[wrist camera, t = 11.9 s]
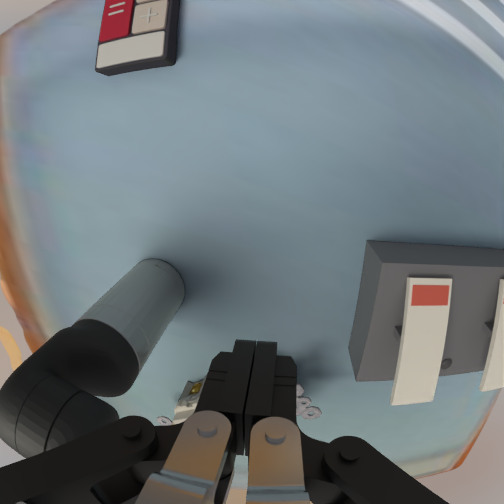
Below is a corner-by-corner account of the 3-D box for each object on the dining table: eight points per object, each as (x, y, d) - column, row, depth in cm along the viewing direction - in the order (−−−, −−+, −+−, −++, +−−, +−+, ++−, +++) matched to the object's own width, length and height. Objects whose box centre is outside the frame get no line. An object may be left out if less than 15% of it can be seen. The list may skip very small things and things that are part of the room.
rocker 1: (389, 402, 33) (392, 405, 32) (407, 277, 33) (410, 277, 32) (429, 398, 33) (432, 401, 32) (448, 278, 33) (452, 278, 32)
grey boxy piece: (327, 383, 49) (327, 428, 40) (200, 418, 59) (186, 454, 50) (295, 337, 46) (291, 383, 37) (164, 382, 56) (145, 419, 47)
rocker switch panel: (348, 348, 47) (358, 392, 37) (366, 240, 41) (387, 270, 31) (484, 341, 44) (508, 374, 34) (513, 250, 38) (549, 274, 28)
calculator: (175, -33, 27) (164, 57, 31) (184, -20, 31) (176, 65, 35) (105, -15, 28) (91, 71, 32) (118, -5, 32) (107, 76, 36)
